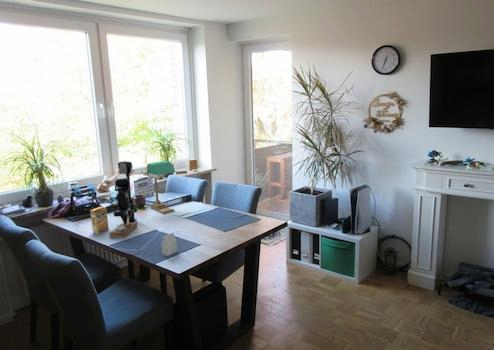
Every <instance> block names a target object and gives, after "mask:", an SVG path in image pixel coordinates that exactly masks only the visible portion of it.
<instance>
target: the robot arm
mask: <svg viewBox="0 0 494 350" xmlns="http://www.w3.org/2000/svg"><path fill="white" fill-rule="evenodd" d="M117 169H118V170H119V171H118V175H117V176H116V177H115V178H116V179H115V180H114V191H115V192H117V195H116V197H115V199H116V202H117V203H112V204H110V205H109V210H110V211H111V212H113V211H114V212H113V216H114V217H117V218H118V217H120V218H121V220H122V223H124V224H126V223H127V219H128V217H129V223H135V222H136V221H137V220H138V219H137V218H136V217H135V213H137V212H138V207H137V204H136V203H135V201H134V199H133V198H132V190H131V179H130V175H131V173H132V169H133V163H132V161H127V160H121V161H119V162H118V163H117ZM115 210H116V211H115ZM127 212H128V213H127Z"/></svg>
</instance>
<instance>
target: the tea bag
mask: <svg viewBox="0 0 494 350" xmlns="http://www.w3.org/2000/svg"><path fill="white" fill-rule="evenodd" d="M177 243H178V242H177V239H176V237H175V234H174V232H171V233H169V234H167V235H164V236H163V239H162V241H161V251H162V256H166V257H169V256H171V255H173V254H175V253H177V252H178V245H177Z"/></svg>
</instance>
